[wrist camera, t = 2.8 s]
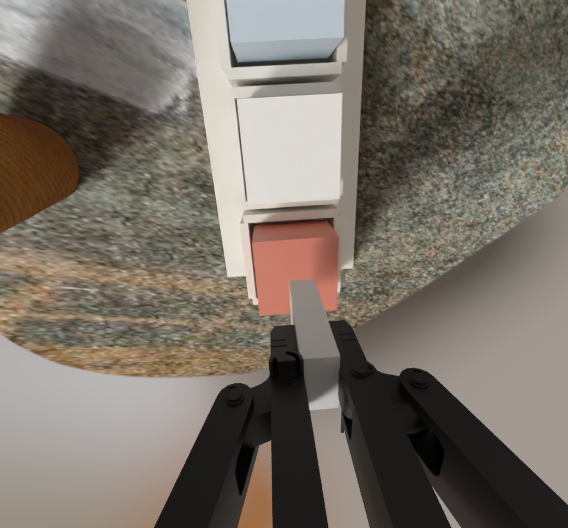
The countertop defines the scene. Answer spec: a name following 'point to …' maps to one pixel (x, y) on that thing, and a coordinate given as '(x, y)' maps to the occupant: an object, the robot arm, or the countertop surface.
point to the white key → (291, 147)
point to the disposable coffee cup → (32, 169)
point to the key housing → (274, 83)
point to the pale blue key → (284, 28)
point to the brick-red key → (294, 262)
